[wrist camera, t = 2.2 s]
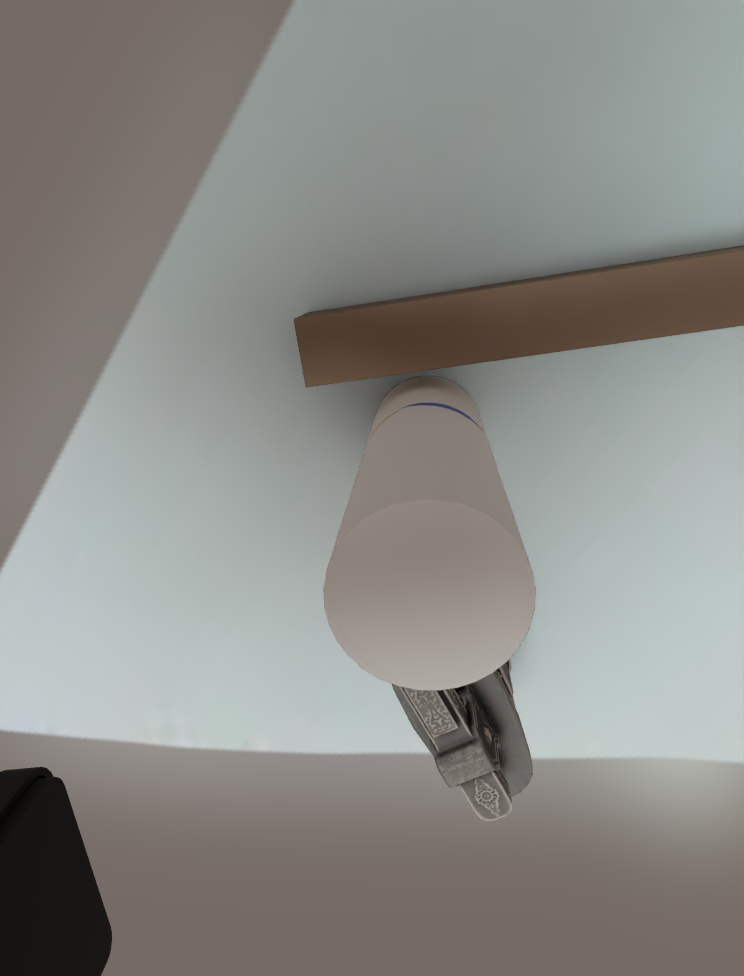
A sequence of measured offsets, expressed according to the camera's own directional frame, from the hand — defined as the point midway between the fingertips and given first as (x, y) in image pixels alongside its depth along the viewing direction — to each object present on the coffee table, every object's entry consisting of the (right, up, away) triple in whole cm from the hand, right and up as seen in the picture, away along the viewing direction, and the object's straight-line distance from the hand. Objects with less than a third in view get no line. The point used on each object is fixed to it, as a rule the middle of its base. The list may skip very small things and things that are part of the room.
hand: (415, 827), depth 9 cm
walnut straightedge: (+9, +12, +17) cm, 23 cm away
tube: (+2, +7, +20) cm, 21 cm away
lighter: (+3, -1, +22) cm, 22 cm away
